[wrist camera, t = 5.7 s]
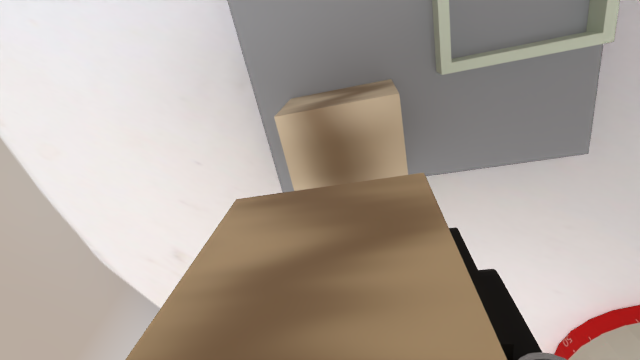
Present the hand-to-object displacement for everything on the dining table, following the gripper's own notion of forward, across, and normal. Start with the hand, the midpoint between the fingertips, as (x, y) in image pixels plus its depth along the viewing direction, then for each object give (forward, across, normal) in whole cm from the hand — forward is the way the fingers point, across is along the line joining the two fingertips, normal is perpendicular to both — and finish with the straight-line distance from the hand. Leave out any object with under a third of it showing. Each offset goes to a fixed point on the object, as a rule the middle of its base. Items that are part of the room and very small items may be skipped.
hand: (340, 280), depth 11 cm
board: (+16, -5, -5) cm, 17 cm away
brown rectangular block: (+15, 0, 0) cm, 15 cm away
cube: (+1, 0, 0) cm, 1 cm away
